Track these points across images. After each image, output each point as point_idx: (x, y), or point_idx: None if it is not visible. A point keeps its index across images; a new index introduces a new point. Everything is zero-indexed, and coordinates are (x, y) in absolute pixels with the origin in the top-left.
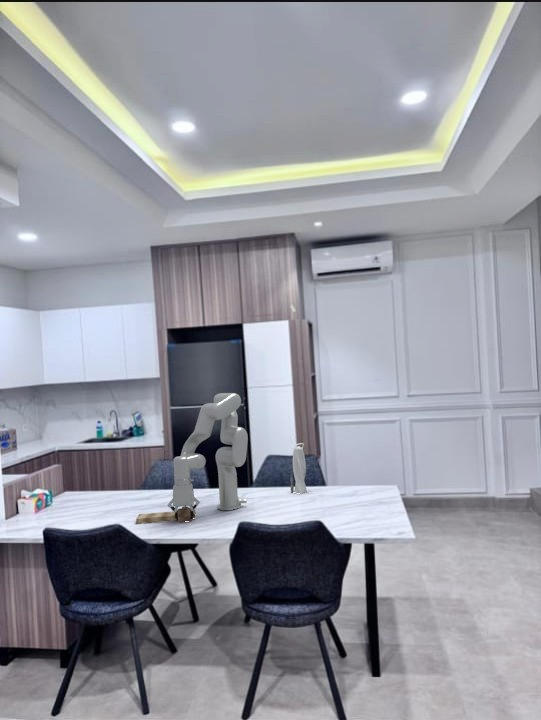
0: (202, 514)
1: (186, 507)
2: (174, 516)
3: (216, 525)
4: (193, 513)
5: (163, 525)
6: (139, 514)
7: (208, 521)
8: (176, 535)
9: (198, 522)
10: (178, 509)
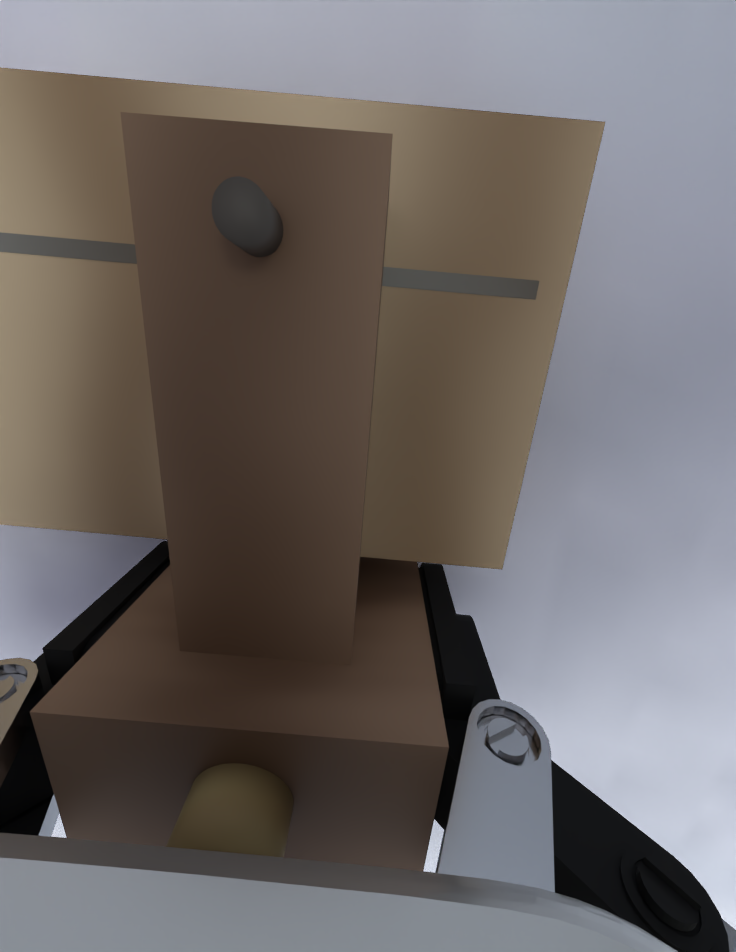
0: (685, 239)
1: (305, 305)
2: (81, 522)
3: (689, 837)
4: (487, 521)
5: (19, 638)
6: None
7: (651, 687)
8: None
9: (507, 680)
10: (70, 780)
